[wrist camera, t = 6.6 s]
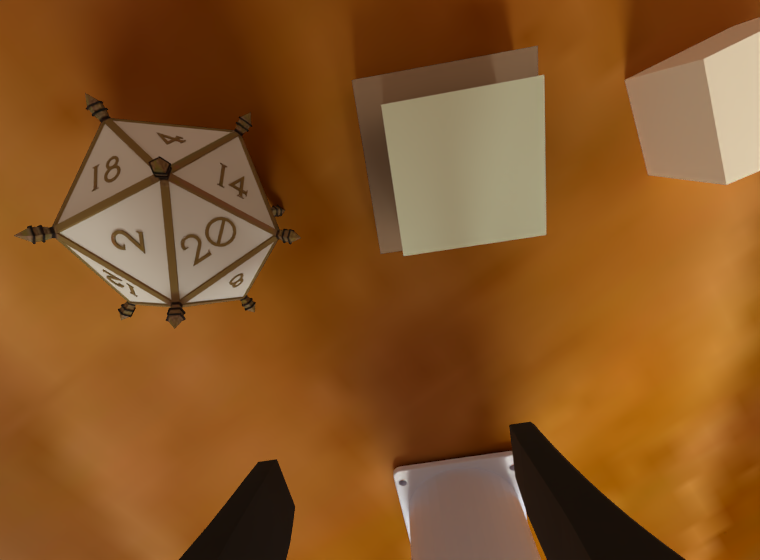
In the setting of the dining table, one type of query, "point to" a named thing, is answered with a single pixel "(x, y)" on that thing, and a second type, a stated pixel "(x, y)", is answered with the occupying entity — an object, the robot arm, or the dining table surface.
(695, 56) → the cream cube
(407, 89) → the walnut base
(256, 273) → the game die
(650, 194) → the dining table surface
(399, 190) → the sage cube
